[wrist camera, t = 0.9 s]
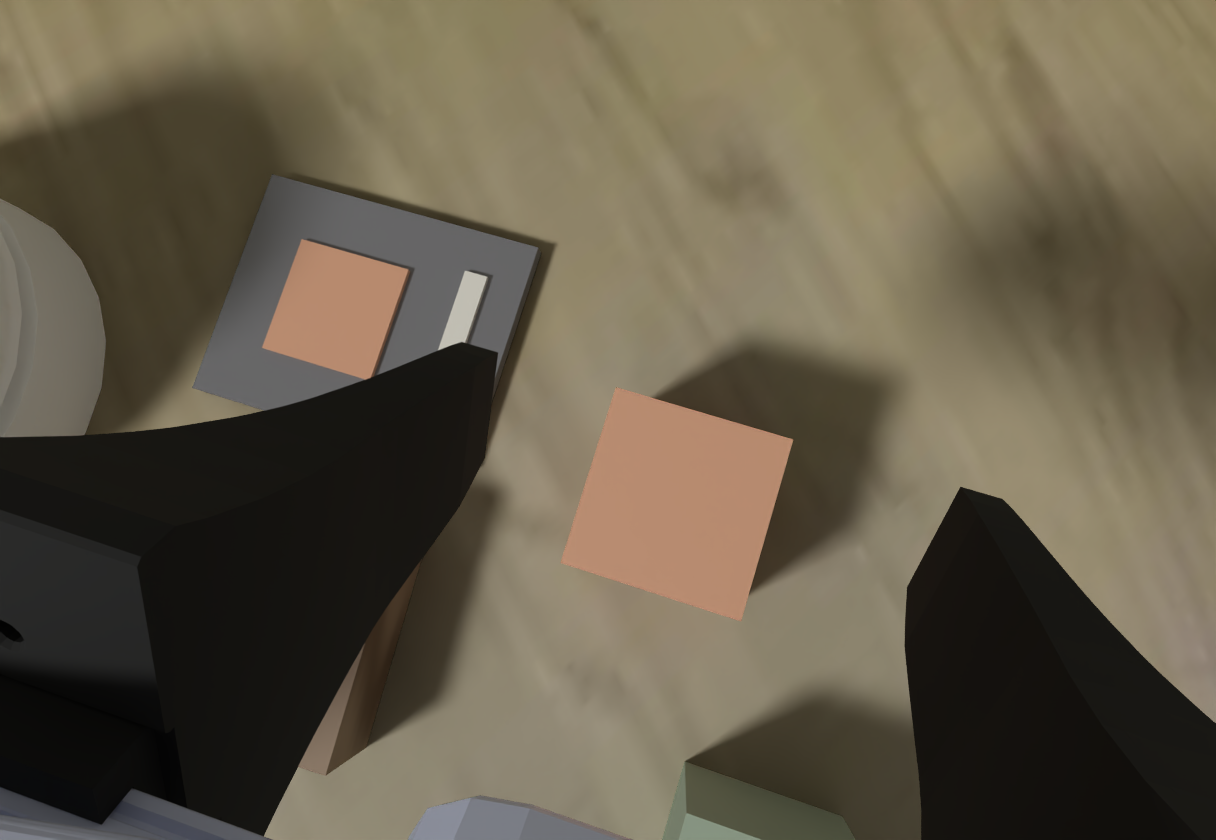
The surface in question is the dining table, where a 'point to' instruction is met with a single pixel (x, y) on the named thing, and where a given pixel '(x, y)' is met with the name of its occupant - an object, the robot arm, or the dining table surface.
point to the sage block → (744, 812)
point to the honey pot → (46, 332)
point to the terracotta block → (677, 503)
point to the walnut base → (359, 692)
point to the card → (356, 296)
